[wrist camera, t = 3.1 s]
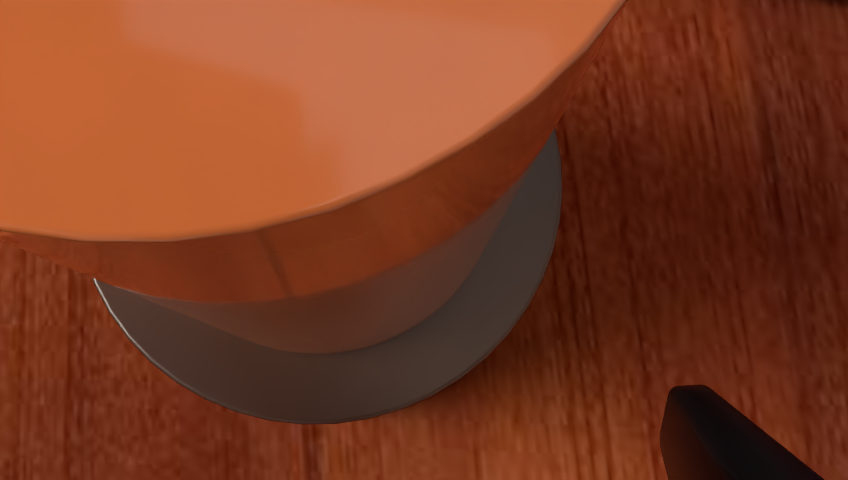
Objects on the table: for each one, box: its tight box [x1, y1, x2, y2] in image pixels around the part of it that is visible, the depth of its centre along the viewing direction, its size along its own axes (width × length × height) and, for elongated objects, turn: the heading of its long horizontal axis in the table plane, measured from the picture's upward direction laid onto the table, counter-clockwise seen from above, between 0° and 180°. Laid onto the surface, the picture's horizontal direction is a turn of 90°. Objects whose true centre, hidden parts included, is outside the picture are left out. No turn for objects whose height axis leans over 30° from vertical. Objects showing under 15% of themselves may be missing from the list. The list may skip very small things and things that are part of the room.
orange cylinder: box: [0, 0, 628, 354], centre depth 10 cm, size 7×7×10 cm
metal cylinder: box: [92, 128, 562, 424], centre depth 19 cm, size 9×9×8 cm
